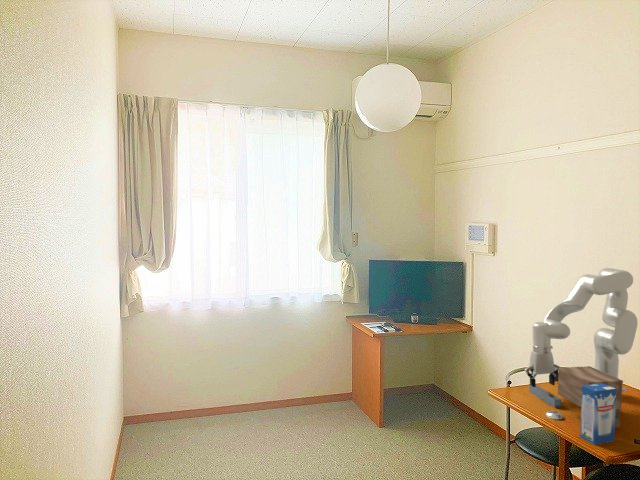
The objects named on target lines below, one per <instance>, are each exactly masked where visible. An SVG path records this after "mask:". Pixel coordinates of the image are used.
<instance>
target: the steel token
mask: <svg viewBox="0 0 640 480" xmlns="http://www.w3.org/2000/svg"><path fill="white" fill-rule="evenodd" d="M545 416H546V418H548V419H550V418H551V420H555V419H556V420H557V421H558V420H562V419H563V414H562V413H561V412H558V411H556V410H546V412H545Z"/></svg>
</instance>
